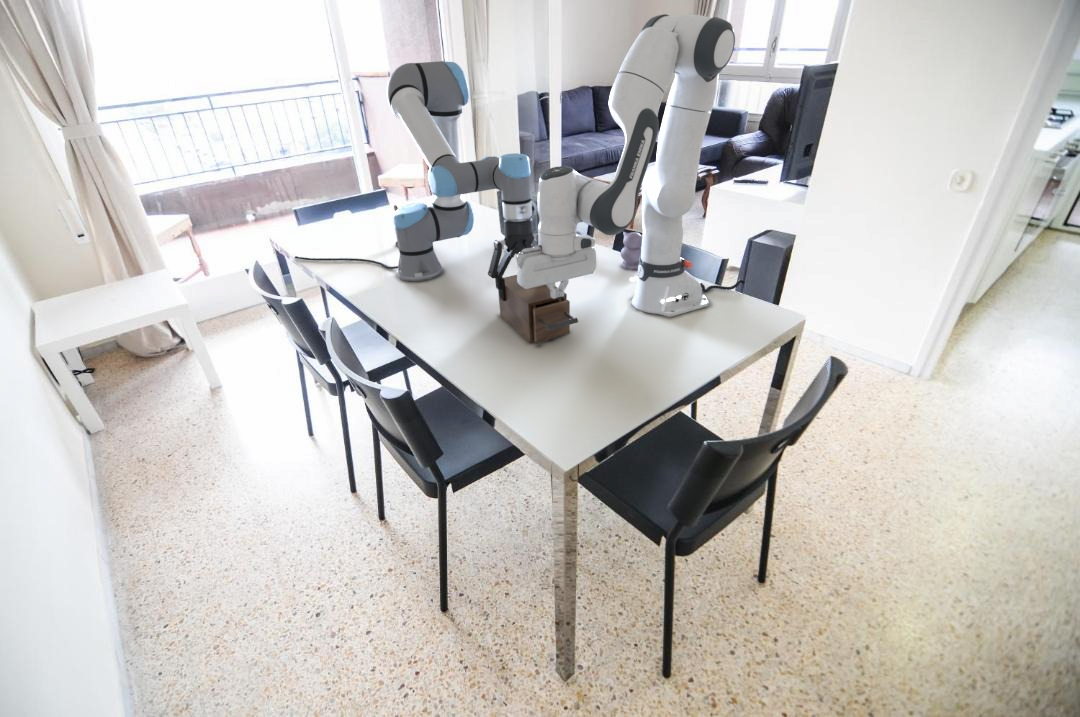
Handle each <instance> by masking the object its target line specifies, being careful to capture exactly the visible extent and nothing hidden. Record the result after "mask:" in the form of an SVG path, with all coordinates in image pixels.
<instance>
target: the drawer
mask: <svg viewBox="0 0 1080 717" xmlns="http://www.w3.org/2000/svg"><path fill="white" fill-rule="evenodd" d="M570 304H571V301H570V300H569V299H567V300H564V301H561V299H558V300H554V301H550V302H546V303H543V304H539V305H535V306H531V307H532V326H533V336H534V342H533V343H535V344H538V343H543V342H545V341H549V340H552V339H556V338H559V337H562V336H566V335H569V334H570V333H571V325H573V324H577V323H579V319H578V318H577V317H574V316H572V315H571V313H570V312H571V308H570V307H571V306H570Z"/></svg>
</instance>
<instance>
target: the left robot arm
mask: <svg viewBox="0 0 1080 717" xmlns="http://www.w3.org/2000/svg"><path fill="white" fill-rule="evenodd" d="M469 89H470V88H469V85H468V81H467V78H466V75H465V73H464V71H463V69H462V68H461V66H460V65H459V64H458V63H457V62H456V61H455V62H454V61H445V60H441V61H440V60H439V61H426V62H425V61H423V62H406V63H403V64H401V65H400V66H398V67H397V68H395V69H394V70H393V72H392V73H391V74H390V76H389V78H388V81H387V85H386V100H387V103H388V106H389V108H390V110H391V112H392V114H393V115H394V116H395V117H396V118H397V119H399V120H401V121H402V124H403V126H405V128H406V130H407V132H408V134H409V135H410V137H411V139H412V141H413V142H414V143H415V145H416V147H417V149H418V151H419V152H420V154H421V156H422V157H423V159H424V161H425V163H426V164H427V166H428V168H429V169H428V171H427V179H428V186H429V188H430V192H431V193H432V194H433V195H434V196H433V197H432V198H431V206H428V205H427V204H426V203H424V202H423V203H422V202H417V203H410V204H406V205H403V206H401V207H398V209H397V210H396V211H395V210H394V213H393V215H392V219H393V228H394V230H395V231H394V232H395V236H396V242H398V246H397V247H398V251H399V259H398V265H395V266H391V265H386V264H385V263H382V262H381V261H376V260H373V259H366V258H356V257H355V258H354V257H353V258H351V257H350V258H349V257H337V258H336V257H335V258H334V257H333V258H332V257H331V258H329V257H326V258H324V257H320V258H319V257H316V258H315V257H304V256H298V255H295V256H294V259H298V260H305V261H318V262H319V261H323V262H324V261H330V262H331V261H334V262H335V261H354V262H355V261H356V262H366V263H373V264H377V265H380V266H382V267H384V268H385V269H389V270H393V269H394V270H396V269H397V276H398V278H399V279H400V280H402V281H406V282H413V283H414V282H425V281H429V280H432V279H435V278H438V277H439V276H440V275H441V274H442V273H443V268H442V264H441V263H440V260H439V259H438V256H437V254H436V252H435V250H434V243H435V242H440V241H446V240H450V239H455V238H460V237H463V236H466V235H469V234H470V232H471V231H472V230H473V227H474V220H475V218H474V217H475V216H474V212H473V207H472V205H471V203H470V202H469V201H468V200H467V198H466V197H465V196H464V195H466V194H472V193H479V192H485V191H489V190H497V191H499V190H501V192H502V204H503V217H504V218H505V219H504V232H505V236H504V239H501V240H498V239H495V240H494V241H493V252H492V257H491V260H490V264H489V267H488V272H487V275H488V277H490V278H491V279H494V282H495V289H497V291H498V290H499V293H498V296H499V295H500V298H501V299H502V300H503V301H506V292H505V279H504V277H503V276H504V274H505V272H506V270H507V268H508V266H509V264H510V262H511V261H512V259H513V258H514V257H515V255H518V254H519V253H520V252H521V251H522V250H523V249H524V248H531V247H532V246H531V244H532V242H533V240H535V241H536V243H537V245H538V232H536V234H532V231H533V227H532V218H531V216H532V206H531V191H532V181H531V174H532V171H531V165H530V158H529V156H528V155H526V153H525V154H524V153H519V152H517V153H505V154H502V155H501V156H500V157H497V156H494V155H493V156H490V155H489V156H485V157H483V158H482V159H480V160H474V161H465V162H461V158H460V156H461V155H460V140H459V120H458V119H459V118H460V117H461V116H462V115H463V107H464V106H466V105H467V104H468V103H469V99H470V90H469ZM504 247H506V248H505V250H504V254H503V256H502V253H503V249H504Z"/></svg>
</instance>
